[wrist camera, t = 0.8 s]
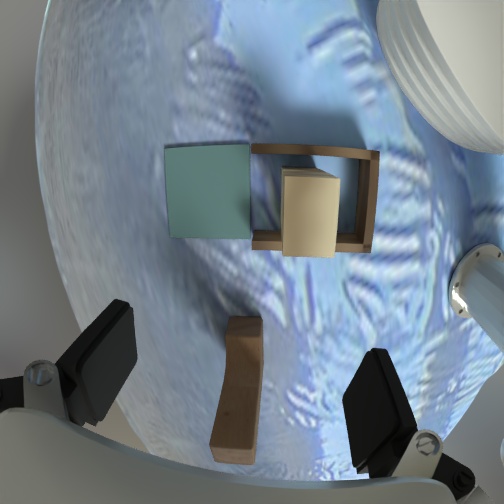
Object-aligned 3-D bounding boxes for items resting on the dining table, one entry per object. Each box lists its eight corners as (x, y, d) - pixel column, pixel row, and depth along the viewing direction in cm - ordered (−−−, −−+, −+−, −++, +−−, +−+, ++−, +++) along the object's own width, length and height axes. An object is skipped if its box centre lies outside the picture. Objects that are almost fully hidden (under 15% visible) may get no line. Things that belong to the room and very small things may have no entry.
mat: (250, 144, 30) (249, 144, 29) (250, 238, 34) (250, 239, 33) (165, 148, 30) (164, 148, 30) (171, 236, 34) (170, 237, 34)
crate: (367, 150, 29) (379, 151, 25) (360, 241, 32) (370, 253, 29) (254, 144, 30) (251, 143, 26) (254, 238, 33) (251, 249, 30)
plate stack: (419, 167, 29) (474, 180, 18) (340, -24, 20) (359, -72, 9) (535, 142, 23) (581, 150, 13) (479, -9, 15) (515, -28, 4)
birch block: (316, 168, 30) (340, 178, 19) (314, 219, 32) (334, 257, 21) (281, 166, 30) (284, 176, 19) (280, 218, 32) (282, 256, 21)
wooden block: (229, 315, 38) (200, 422, 21) (262, 315, 37) (251, 427, 20) (234, 362, 41) (214, 463, 24) (263, 363, 40) (254, 466, 24)
